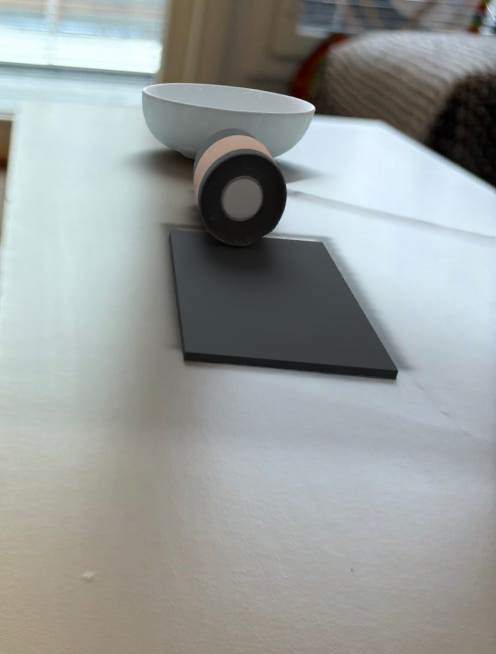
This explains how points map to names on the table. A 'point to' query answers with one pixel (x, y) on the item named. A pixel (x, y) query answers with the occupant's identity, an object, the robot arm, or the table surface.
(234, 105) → the serving bowl
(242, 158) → the travel mug
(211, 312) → the mat
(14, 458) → the table surface
